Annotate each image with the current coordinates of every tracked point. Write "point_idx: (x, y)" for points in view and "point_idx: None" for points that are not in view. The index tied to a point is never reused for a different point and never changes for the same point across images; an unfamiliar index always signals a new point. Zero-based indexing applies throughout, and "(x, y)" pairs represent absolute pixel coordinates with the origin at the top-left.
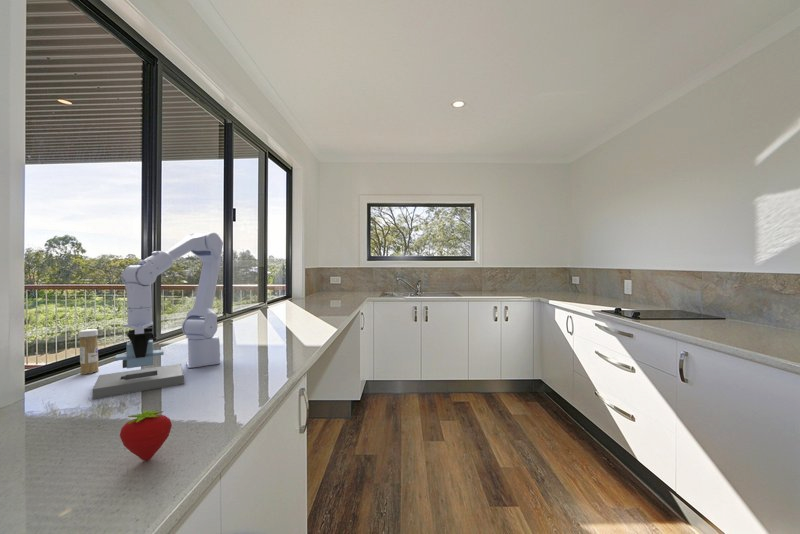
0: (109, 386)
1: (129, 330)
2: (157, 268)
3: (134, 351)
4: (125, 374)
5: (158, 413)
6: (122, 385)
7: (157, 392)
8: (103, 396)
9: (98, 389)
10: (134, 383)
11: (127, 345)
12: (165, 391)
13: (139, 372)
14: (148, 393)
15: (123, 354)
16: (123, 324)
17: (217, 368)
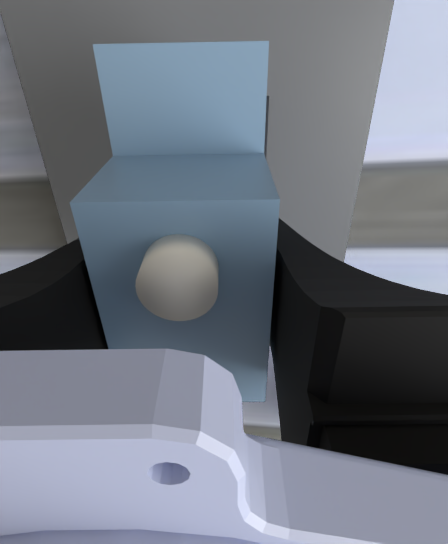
0: (4, 12)
1: (432, 323)
2: None
3: (77, 240)
4: (285, 93)
5: None
6: (28, 95)
7: (22, 237)
8: None
9: None
10: (46, 159)
11: (77, 209)
12: (25, 264)
13: (277, 174)
14: (19, 205)
15: (233, 118)
16: (62, 458)
17: (268, 411)
